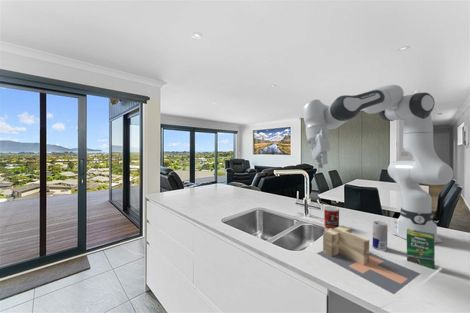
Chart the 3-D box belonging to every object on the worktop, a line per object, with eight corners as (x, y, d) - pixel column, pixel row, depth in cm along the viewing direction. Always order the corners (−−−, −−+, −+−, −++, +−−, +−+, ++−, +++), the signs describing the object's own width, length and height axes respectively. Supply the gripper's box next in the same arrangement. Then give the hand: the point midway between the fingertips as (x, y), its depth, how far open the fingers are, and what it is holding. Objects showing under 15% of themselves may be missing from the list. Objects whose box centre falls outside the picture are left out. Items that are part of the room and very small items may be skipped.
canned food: (324, 228, 113) (325, 209, 113) (323, 223, 121) (323, 205, 120) (339, 230, 111) (340, 211, 110) (337, 225, 118) (338, 207, 118)
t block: (342, 244, 93) (342, 225, 93) (375, 258, 81) (376, 236, 81) (323, 252, 86) (323, 232, 86) (356, 269, 74) (356, 245, 74)
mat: (344, 243, 95) (344, 242, 95) (420, 275, 71) (420, 273, 71) (316, 254, 86) (316, 253, 86) (393, 295, 61) (393, 294, 61)
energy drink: (373, 245, 93) (373, 220, 93) (387, 248, 90) (387, 222, 90) (371, 249, 89) (372, 223, 89) (386, 253, 86) (387, 226, 85)
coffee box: (405, 261, 80) (406, 229, 79) (407, 259, 82) (407, 227, 81) (433, 271, 73) (434, 236, 73) (434, 268, 75) (435, 234, 75)
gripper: (330, 125, 77) (337, 160, 74) (320, 141, 96) (325, 169, 93) (313, 128, 78) (319, 162, 75) (306, 142, 98) (311, 170, 94)
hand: (322, 166), depth 84 cm, fingers open, 8 cm apart
